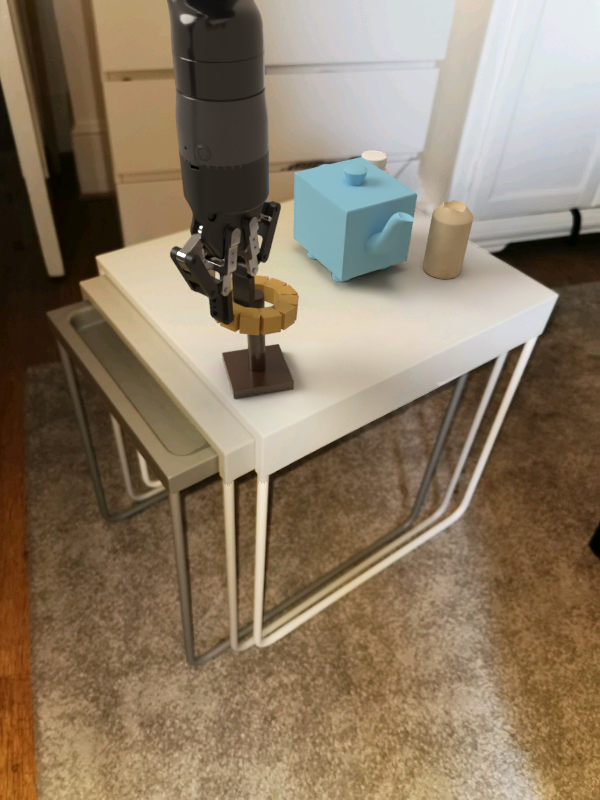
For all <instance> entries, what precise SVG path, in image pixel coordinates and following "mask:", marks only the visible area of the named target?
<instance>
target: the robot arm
mask: <svg viewBox="0 0 600 800" xmlns="http://www.w3.org/2000/svg"><path fill="white" fill-rule="evenodd" d="M166 2H167V8H168V15H169V23H170V45H171V46H170V47H171V56H172V57H171V58H172V64H173V65H172V66H173V76H174V85H175V127H176V134H177V135H176V136H177V143H178V144H177V145H178V155H179V163H180V174H181V184H182V194H183V197H184V199H185V201H186V203H187V204H188V206H189V208H190V210H191V213H192V217H191V224H190V227H189V231H190V237H189V239H188V240H187V241H186V242H185V244H184V245H183V246H182V247H180V246H178V245H174V246H173V247H172V248H171V250H170V251H169V258H170V259H171V261H172V262H173V264H174V266H175V267H176V268H177V270H178V271H179V273H180V275H181V276H182V278H183V279H184V281H185V282H186V284H187V286H188V287H189V289H190V291H193V292H195V293H198V294H201V295H203V296H204V297H206V298H208V304H209V305H208V306H209V314H210V317H211V318H212V319H213V320H214V319H215V320H217V321H219V322H221V323H223V324H225V325H228V324H230V323H231V322H232V321H233V320H234V318H233V301H232V292H231V291H230V290H231V277H232V286H233V300H234V302H235V303H236V304H238V305H241V306H243V307H248V308H251V307H252V306H253V305H254V296H255V275H257V274H258V271H259V265H260V263H262V264H265V263H267V262H268V260H269V258H270V254H271V250H272V245H273V242H274V238H275V234H276V231H277V226H278V221H279V217H280V213H281V209H282V205H281V203H280V202H278V201H274V200H272V199H268V198H269V196H270V135H269V133H270V127H269V126H270V125H269V124H270V123H269V108H268V102H267V94H266V60H265V59H266V58H265V57H266V56H265V55H266V54H265V50H266V49H265V48H266V43H265V27H264V22H263V18H262V14H261V11H260V9H259V7H258V5H257V3H256V1H255V0H166ZM259 236H260V238H262V239H261V243H259ZM216 272H217V273H218V275H219V278H216ZM215 320H214V321H215Z"/></svg>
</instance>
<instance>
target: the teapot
mask: <svg viewBox="0 0 600 800" xmlns="http://www.w3.org/2000/svg"><path fill="white" fill-rule="evenodd" d="M293 176H294V179H293V186H294V187H293V229H292V231H293V235H292V236H293V239H294V241H296V242H297V243H298V244H299V245H300V246H302V247H303V248H304V249H305V250H306V251H307V254H306V255H307V257H308V258H310V259H312V260H317V261H318V262H319V263H320V264H322V265H323V266H324V267H325V268H326V269H327V270H328V271H329V272H330V273H331V278H332V279H333V281H336V282H339V283H345V282H349V281H350V280H351V279H352V278H356V277H360V276H362V275H365V274H369V273H372V272H375V271H378V270H379V271H380V270H386V269H389V268H390V266H391V267H392V266H394V265H397V264H400V263H403V262H406V261H408V256H409V249H410V243H411V238H412V232H413V231H412V230H413V226H414V225H413V224H414V222H415V212H416V207H417V206H416V205H417V200H418V194H417V192H416V191H414V190H413V189H411V188H409V187H408V186H406V185H405V184H404V183H403V182H401V181H399V180H398V179H397V178H394V177H393V176H392V175H391V174H389V175H388V174H387V173H385V172H384V171H382V170H381V169H379V168H378V167H376V166H375V165H373V164H372V163H370V162H368V161H367V160H365V159H364V158H362V156H359V157H356V158H352V159H347V160H343V161H338V162H334V163H323V164H320V165H319V166H316V167H313V168H307V169H304V170H299V171H295V172H294V175H293Z"/></svg>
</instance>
